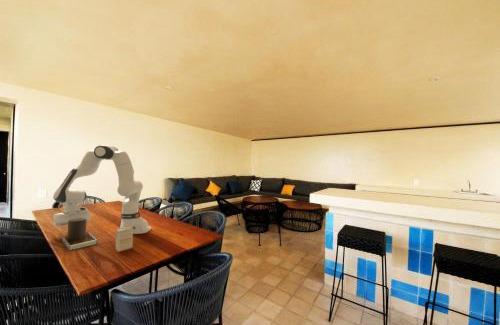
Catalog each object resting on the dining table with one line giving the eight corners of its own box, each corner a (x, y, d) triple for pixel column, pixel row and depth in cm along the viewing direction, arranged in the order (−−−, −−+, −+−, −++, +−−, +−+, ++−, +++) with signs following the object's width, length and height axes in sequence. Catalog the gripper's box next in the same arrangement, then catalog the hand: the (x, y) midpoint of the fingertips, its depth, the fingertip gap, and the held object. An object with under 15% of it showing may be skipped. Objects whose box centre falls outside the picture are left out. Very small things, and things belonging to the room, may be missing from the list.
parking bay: (62, 241, 134) (62, 237, 134) (88, 235, 145) (89, 232, 145) (68, 250, 121) (68, 246, 121) (97, 243, 132) (97, 239, 132)
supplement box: (129, 246, 131) (130, 225, 131) (132, 248, 128) (133, 227, 128) (115, 250, 124) (115, 228, 124) (117, 252, 121) (118, 230, 121)
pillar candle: (74, 242, 133) (76, 219, 133) (63, 240, 135) (64, 218, 135) (89, 237, 142) (90, 216, 142) (78, 236, 144) (79, 215, 144)
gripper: (53, 212, 141) (54, 229, 135) (89, 207, 157) (92, 222, 151) (51, 217, 144) (53, 234, 138) (87, 212, 160) (90, 227, 153)
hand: (74, 228), depth 144 cm, fingers closed
